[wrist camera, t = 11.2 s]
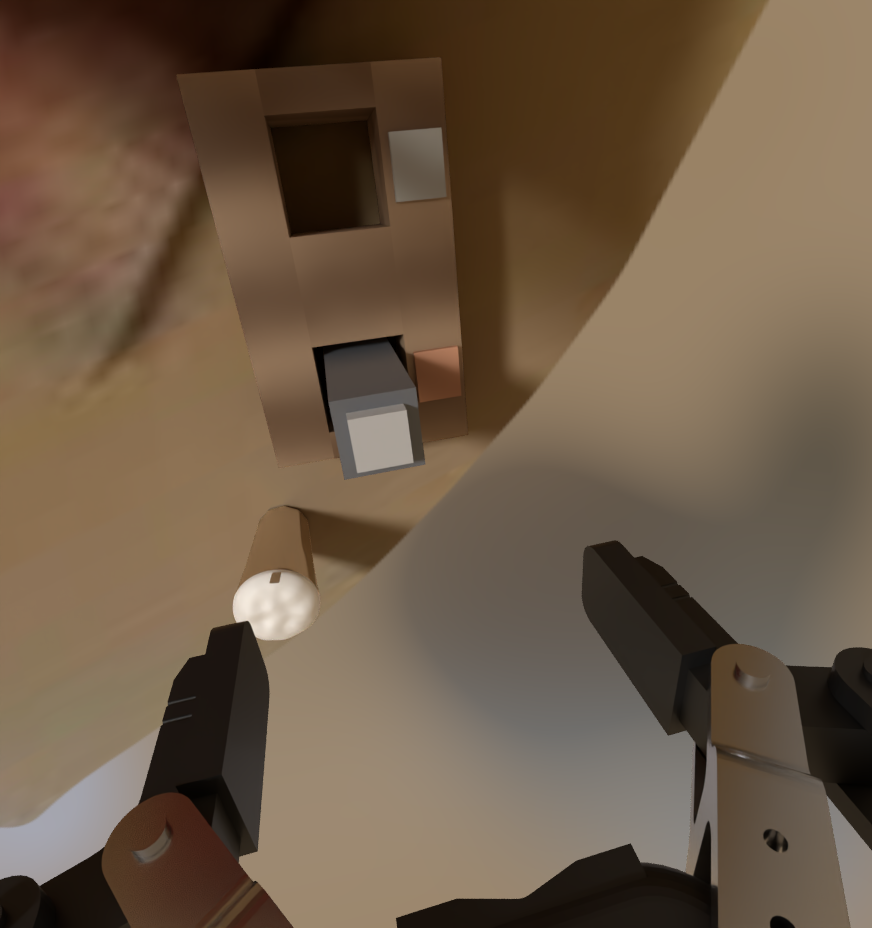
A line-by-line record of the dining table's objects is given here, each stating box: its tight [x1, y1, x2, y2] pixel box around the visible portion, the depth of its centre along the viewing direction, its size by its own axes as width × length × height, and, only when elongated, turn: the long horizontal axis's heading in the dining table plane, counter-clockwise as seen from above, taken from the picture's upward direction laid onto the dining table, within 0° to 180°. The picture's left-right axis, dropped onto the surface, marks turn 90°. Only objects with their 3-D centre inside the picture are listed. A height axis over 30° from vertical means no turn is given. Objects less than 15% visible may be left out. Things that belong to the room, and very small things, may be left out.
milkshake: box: [233, 506, 320, 640], centre depth 31 cm, size 4×5×10 cm
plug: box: [323, 337, 425, 480], centre depth 27 cm, size 4×4×12 cm
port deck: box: [176, 57, 468, 468], centre depth 28 cm, size 18×11×4 cm, turn 6°
